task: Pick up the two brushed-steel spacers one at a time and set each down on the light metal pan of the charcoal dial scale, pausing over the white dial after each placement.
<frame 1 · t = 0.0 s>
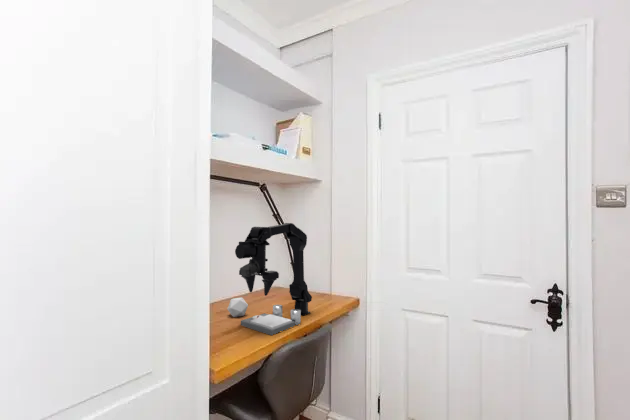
hand: (258, 293, 138), 15 cm above the table, fingers open, 9 cm apart
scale: (267, 325, 142), on the table
spacer 1: (295, 324, 145), on the table
spacer 2: (277, 319, 151), on the table
die: (237, 316, 156), on the table
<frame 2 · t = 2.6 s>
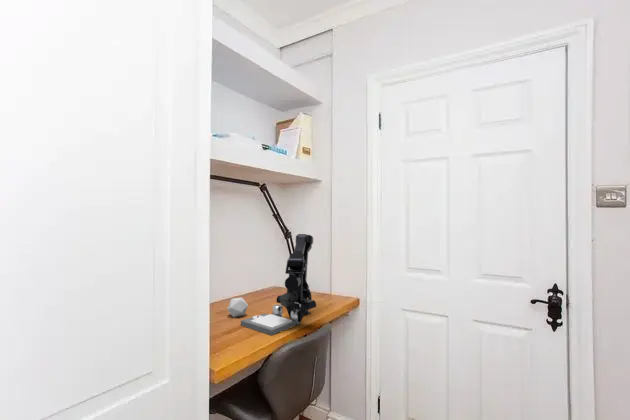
hand: (295, 321, 145), 1 cm above the table, fingers closed on spacer 1, 4 cm apart
spacer 1: (295, 324, 145), on the table, touching gripper
everything else where it was.
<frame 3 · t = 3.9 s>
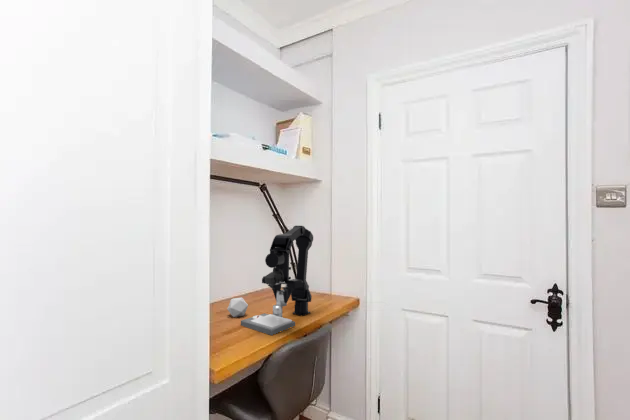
hand: (281, 302, 139), 11 cm above the table, fingers closed on spacer 1, 4 cm apart
spacer 1: (281, 305, 138), point 10 cm above the table, touching gripper
everything else where it was.
when the fingers open (5 cm above the table, at t = 5.5 s): spacer 1 drops 1 cm, resting on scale.
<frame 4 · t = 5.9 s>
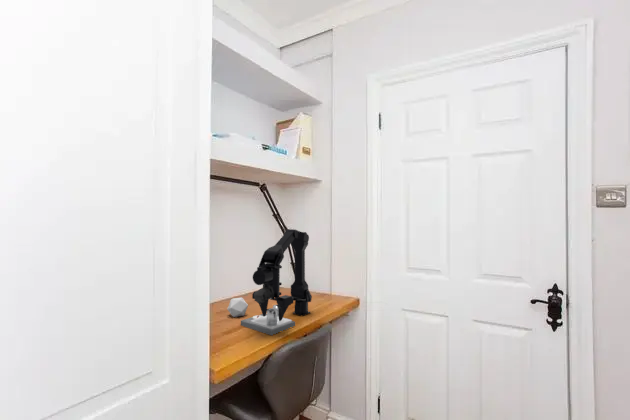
hand: (272, 318, 135), 5 cm above the table, fingers open, 9 cm apart
spacer 1: (271, 324, 135), point 3 cm above the table, touching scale
everything else where it was.
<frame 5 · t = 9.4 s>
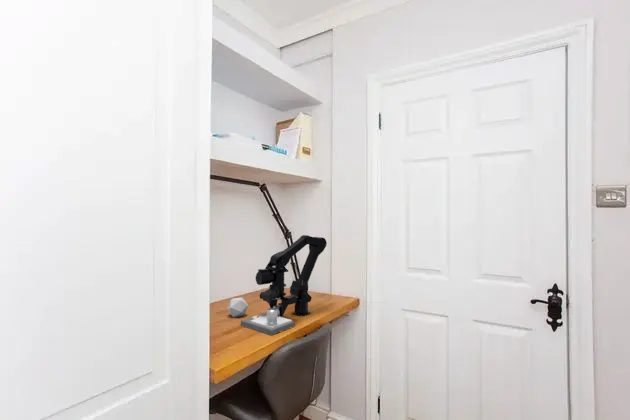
hand: (277, 316, 151), 1 cm above the table, fingers closed on spacer 2, 4 cm apart
spacer 2: (277, 318, 151), on the table, touching gripper
everything else where it was.
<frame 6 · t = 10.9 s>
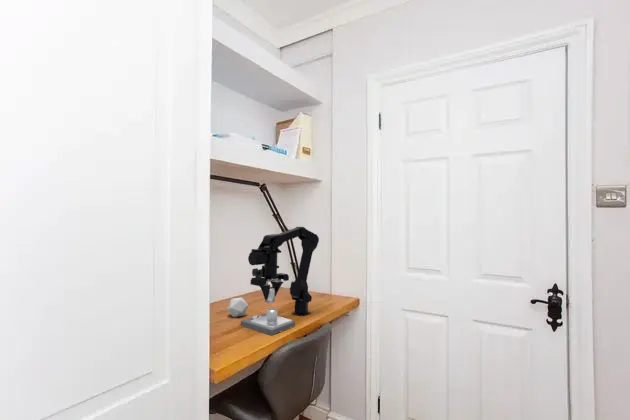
hand: (269, 298, 146), 11 cm above the table, fingers closed on spacer 2, 4 cm apart
spacer 2: (269, 301, 146), point 9 cm above the table, touching gripper
everything else where it was.
when the fingers open (5 cm above the table, at t = 12.2 s): spacer 2 drops 1 cm, resting on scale.
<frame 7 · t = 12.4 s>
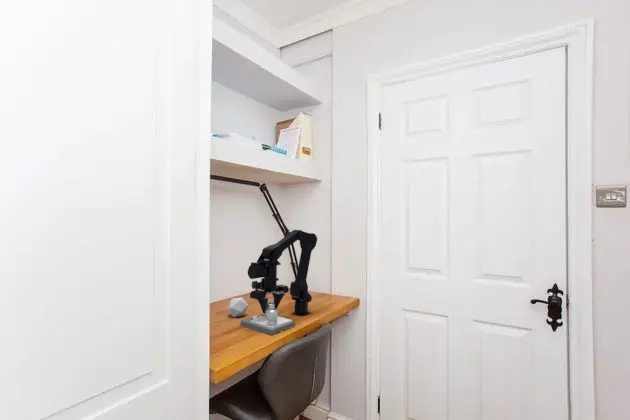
hand: (269, 311, 146), 5 cm above the table, fingers open, 7 cm apart
spacer 2: (269, 316, 146), point 3 cm above the table, touching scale
everything else where it was.
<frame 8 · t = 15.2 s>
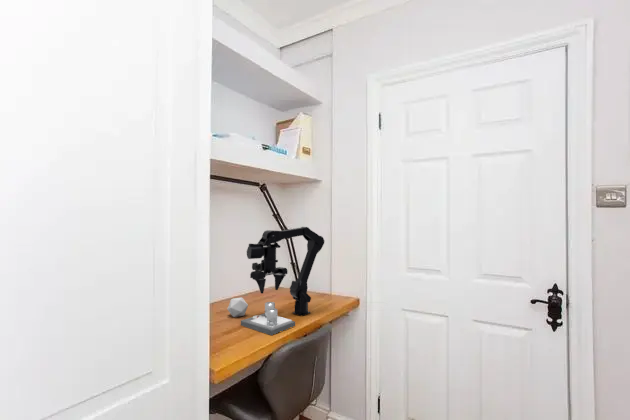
hand: (269, 291, 152), 12 cm above the table, fingers open, 9 cm apart
nothing on the table moved.
at the end: spacer 1 inside the target area (5.1 cm from its centre), point 2.8 cm above the table; spacer 2 inside the target area (5.3 cm from its centre), point 2.8 cm above the table; spacer 2 tilted 0° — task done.
